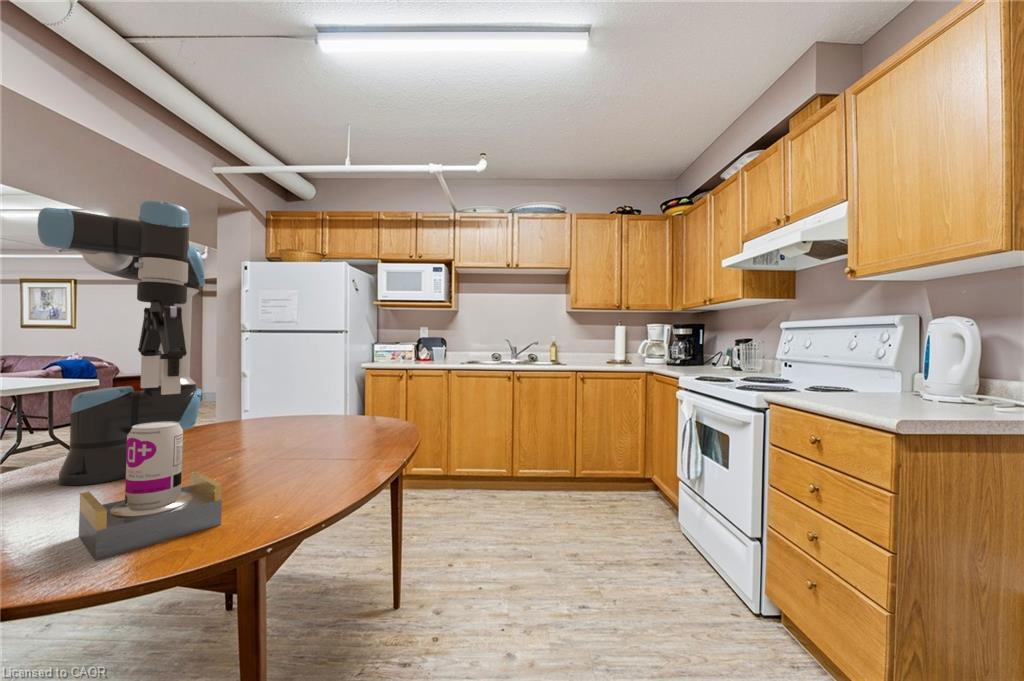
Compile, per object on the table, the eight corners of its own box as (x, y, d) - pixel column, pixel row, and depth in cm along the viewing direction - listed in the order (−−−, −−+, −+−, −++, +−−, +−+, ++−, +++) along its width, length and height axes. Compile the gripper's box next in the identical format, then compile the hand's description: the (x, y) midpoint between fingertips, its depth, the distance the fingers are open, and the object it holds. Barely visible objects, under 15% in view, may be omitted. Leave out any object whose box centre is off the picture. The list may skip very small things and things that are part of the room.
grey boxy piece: (78, 536, 77) (80, 493, 77) (195, 507, 91) (196, 470, 91) (95, 561, 69) (96, 512, 69) (220, 524, 83) (222, 484, 83)
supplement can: (148, 513, 75) (151, 430, 75) (112, 508, 77) (115, 427, 77) (191, 497, 83) (193, 422, 83) (158, 493, 85) (160, 419, 85)
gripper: (121, 284, 86) (118, 386, 86) (158, 275, 71) (154, 398, 71) (167, 288, 92) (164, 384, 92) (209, 281, 77) (205, 395, 77)
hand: (159, 390), depth 82 cm, fingers open, 13 cm apart
